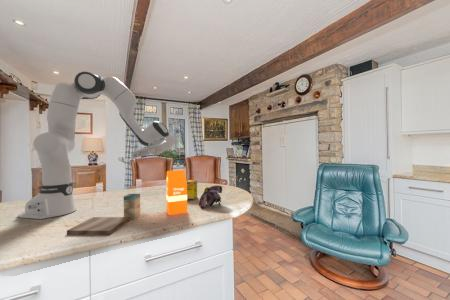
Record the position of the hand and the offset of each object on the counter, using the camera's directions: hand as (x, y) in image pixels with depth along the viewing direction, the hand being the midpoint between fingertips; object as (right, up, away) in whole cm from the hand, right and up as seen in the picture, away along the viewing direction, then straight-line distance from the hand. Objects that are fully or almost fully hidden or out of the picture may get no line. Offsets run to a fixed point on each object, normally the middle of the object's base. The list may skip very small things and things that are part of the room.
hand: (140, 154), depth 103 cm
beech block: (+1, -28, -10) cm, 30 cm away
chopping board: (-7, -28, -21) cm, 36 cm away
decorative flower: (+35, -27, +6) cm, 45 cm away
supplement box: (+22, -27, +21) cm, 41 cm away
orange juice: (+19, -28, -3) cm, 34 cm away
